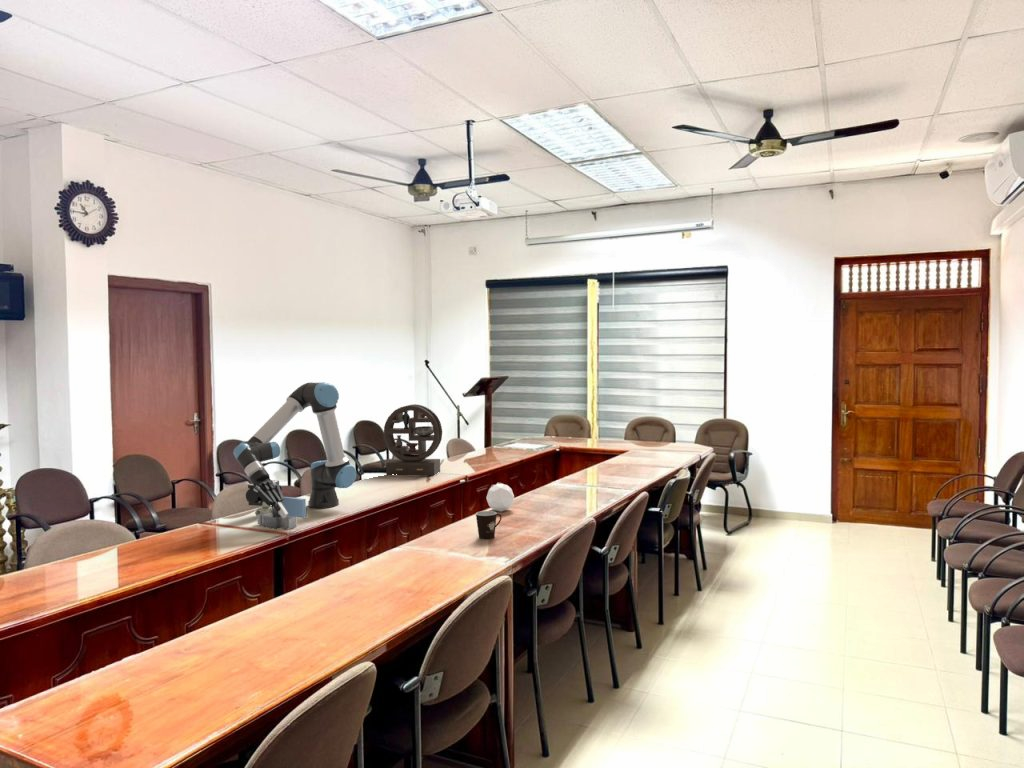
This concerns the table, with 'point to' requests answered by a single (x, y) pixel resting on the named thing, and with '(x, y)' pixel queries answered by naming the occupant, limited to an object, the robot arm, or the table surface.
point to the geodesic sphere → (500, 497)
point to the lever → (293, 507)
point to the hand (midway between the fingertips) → (285, 515)
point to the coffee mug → (487, 524)
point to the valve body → (276, 521)
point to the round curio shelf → (406, 460)
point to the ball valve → (258, 500)
